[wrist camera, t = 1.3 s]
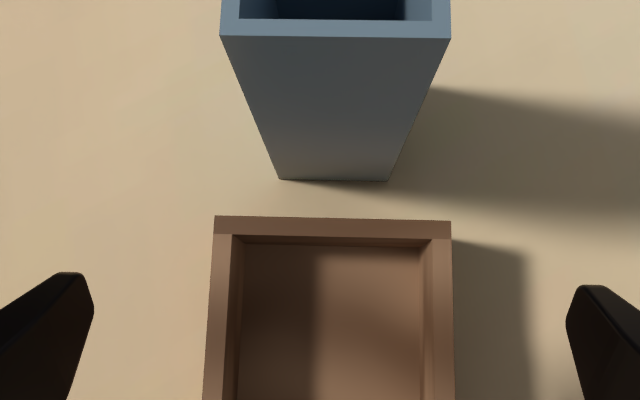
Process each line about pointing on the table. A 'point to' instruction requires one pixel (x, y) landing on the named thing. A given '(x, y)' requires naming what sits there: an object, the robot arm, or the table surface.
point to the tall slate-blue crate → (335, 78)
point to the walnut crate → (330, 310)
